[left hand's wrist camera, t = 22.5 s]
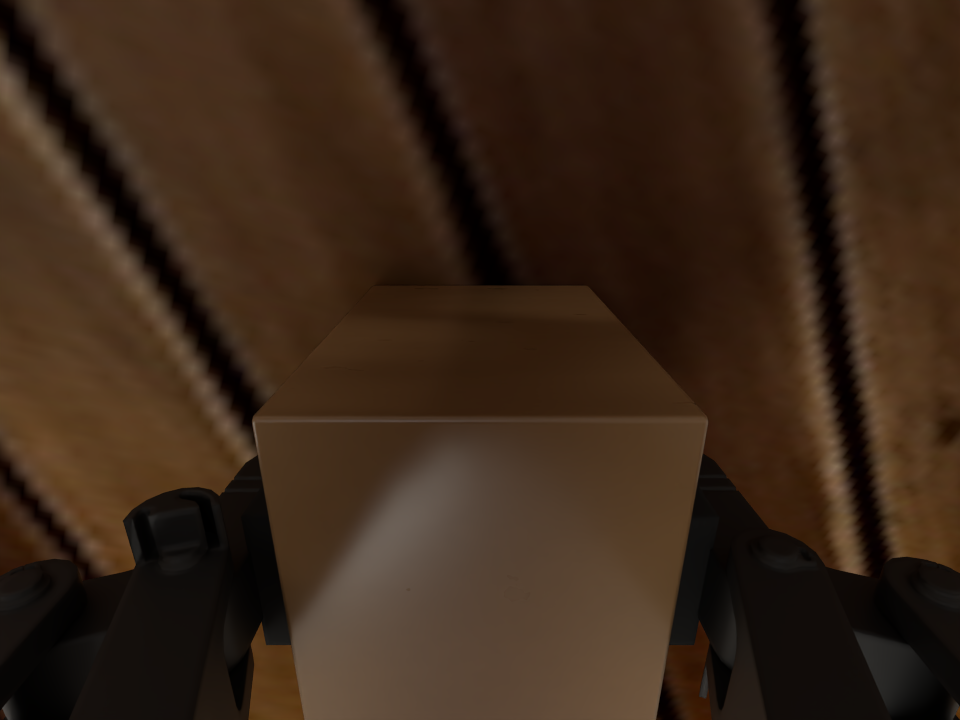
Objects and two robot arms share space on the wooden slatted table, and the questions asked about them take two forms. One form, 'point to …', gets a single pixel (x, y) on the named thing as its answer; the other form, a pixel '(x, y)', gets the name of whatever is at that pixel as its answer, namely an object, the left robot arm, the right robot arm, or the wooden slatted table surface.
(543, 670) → the light brown block
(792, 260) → the wooden slatted table surface
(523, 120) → the wooden slatted table surface
